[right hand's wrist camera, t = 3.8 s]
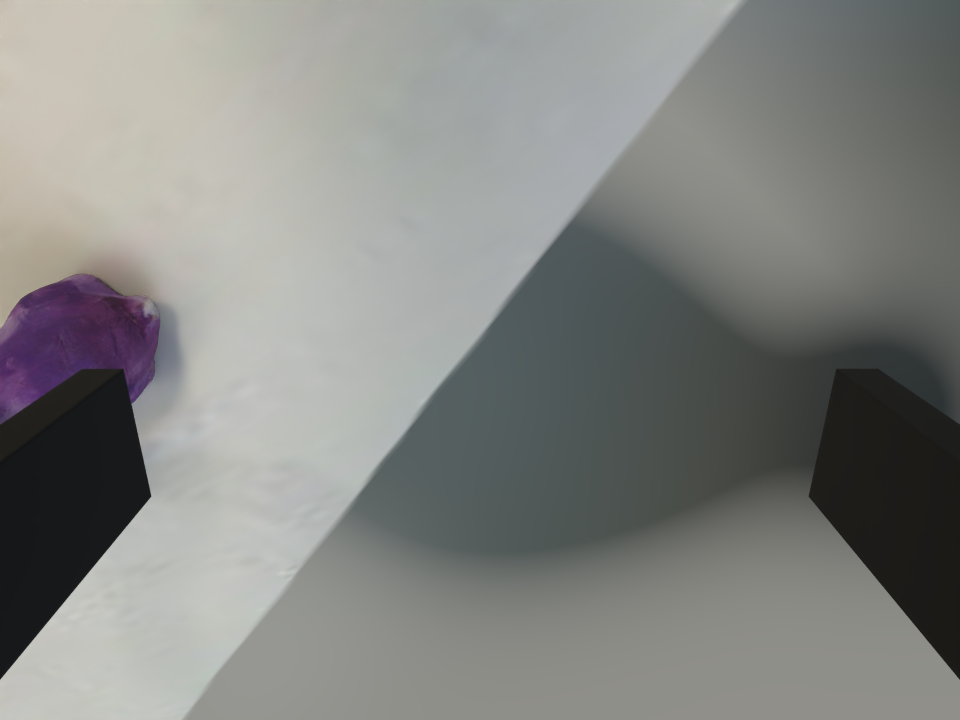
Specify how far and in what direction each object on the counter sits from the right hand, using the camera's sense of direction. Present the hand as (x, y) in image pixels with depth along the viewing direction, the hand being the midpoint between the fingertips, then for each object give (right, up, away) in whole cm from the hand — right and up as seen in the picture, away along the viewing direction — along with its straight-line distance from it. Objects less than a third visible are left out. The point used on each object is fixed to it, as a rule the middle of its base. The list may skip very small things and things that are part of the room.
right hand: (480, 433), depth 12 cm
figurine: (-24, +2, +29) cm, 38 cm away
